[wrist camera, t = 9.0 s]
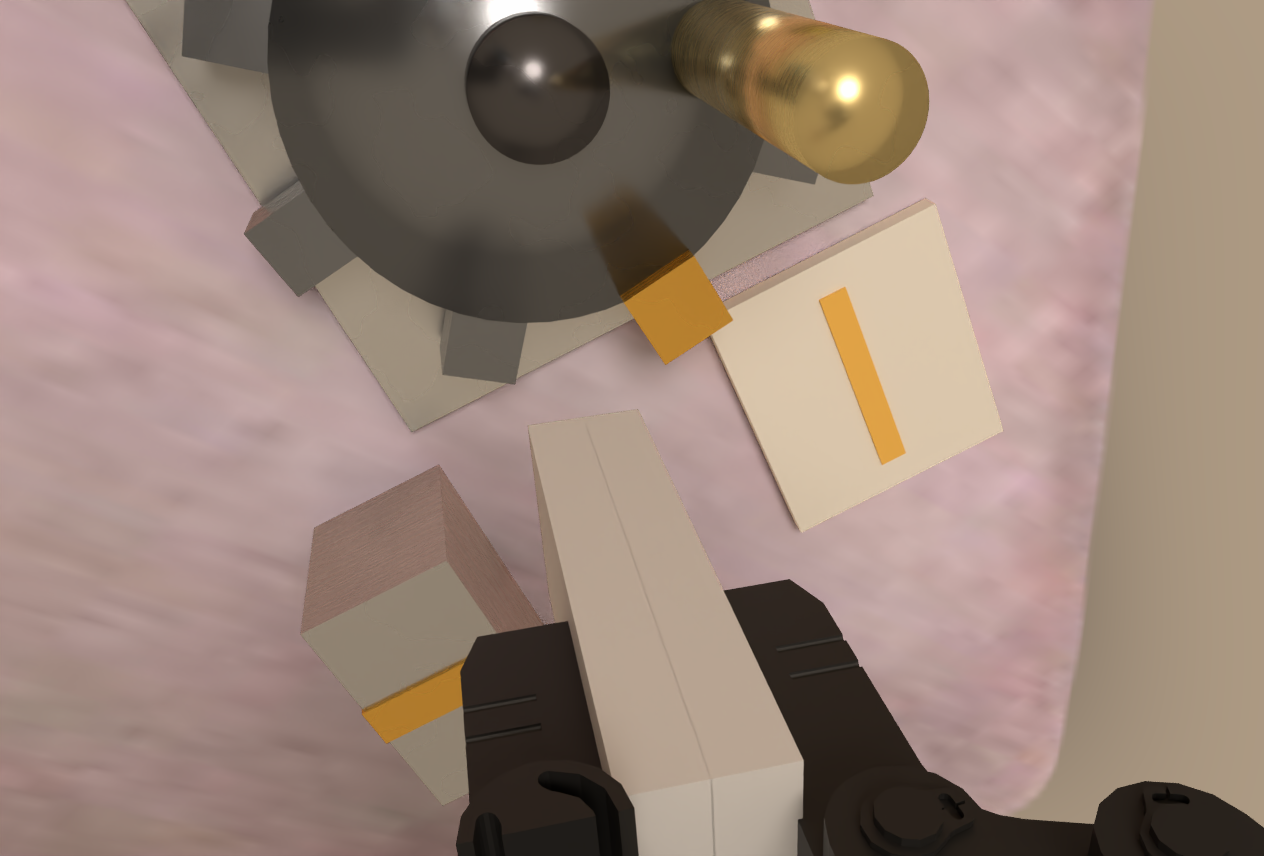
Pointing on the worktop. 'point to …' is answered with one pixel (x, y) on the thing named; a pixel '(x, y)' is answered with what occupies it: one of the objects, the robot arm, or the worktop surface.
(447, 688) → the link block
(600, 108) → the sprocket
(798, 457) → the marked pad
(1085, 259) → the worktop surface
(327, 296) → the sprocket base
